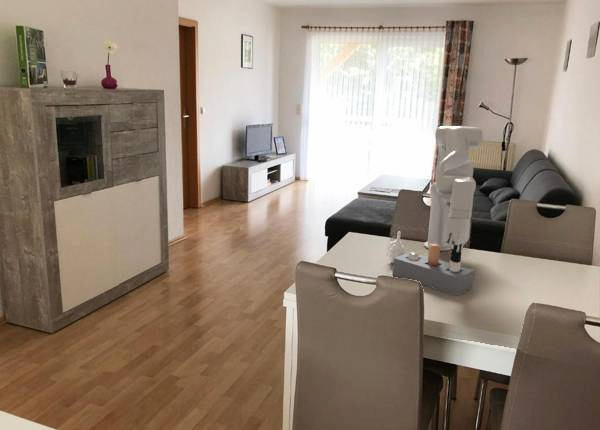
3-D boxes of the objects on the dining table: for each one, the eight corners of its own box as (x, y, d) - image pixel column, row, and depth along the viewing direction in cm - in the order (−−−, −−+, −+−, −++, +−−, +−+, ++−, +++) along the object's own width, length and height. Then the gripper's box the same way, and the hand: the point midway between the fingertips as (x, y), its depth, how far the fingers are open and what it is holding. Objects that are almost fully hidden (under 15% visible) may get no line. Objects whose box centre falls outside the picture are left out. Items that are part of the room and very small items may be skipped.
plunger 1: (410, 269, 204) (412, 251, 202) (419, 272, 202) (420, 253, 200) (404, 272, 202) (406, 253, 200) (413, 274, 199) (415, 255, 197)
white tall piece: (403, 260, 218) (405, 229, 215) (404, 265, 212) (407, 233, 209) (386, 259, 219) (388, 228, 215) (387, 264, 213) (389, 232, 209)
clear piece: (451, 278, 191) (453, 258, 189) (460, 281, 189) (462, 261, 187) (445, 281, 189) (447, 260, 187) (455, 284, 186) (457, 263, 184)
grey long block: (409, 267, 209) (411, 251, 208) (472, 287, 190) (474, 270, 188) (392, 274, 201) (393, 258, 199) (456, 295, 182) (458, 277, 180)
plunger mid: (431, 262, 197) (433, 243, 195) (440, 265, 194) (442, 245, 192) (425, 264, 194) (427, 245, 192) (434, 267, 191) (436, 247, 189)
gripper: (461, 208, 190) (456, 255, 194) (440, 214, 180) (435, 263, 184) (479, 212, 185) (474, 259, 189) (459, 218, 174) (454, 268, 179)
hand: (455, 261), depth 186 cm, fingers closed
